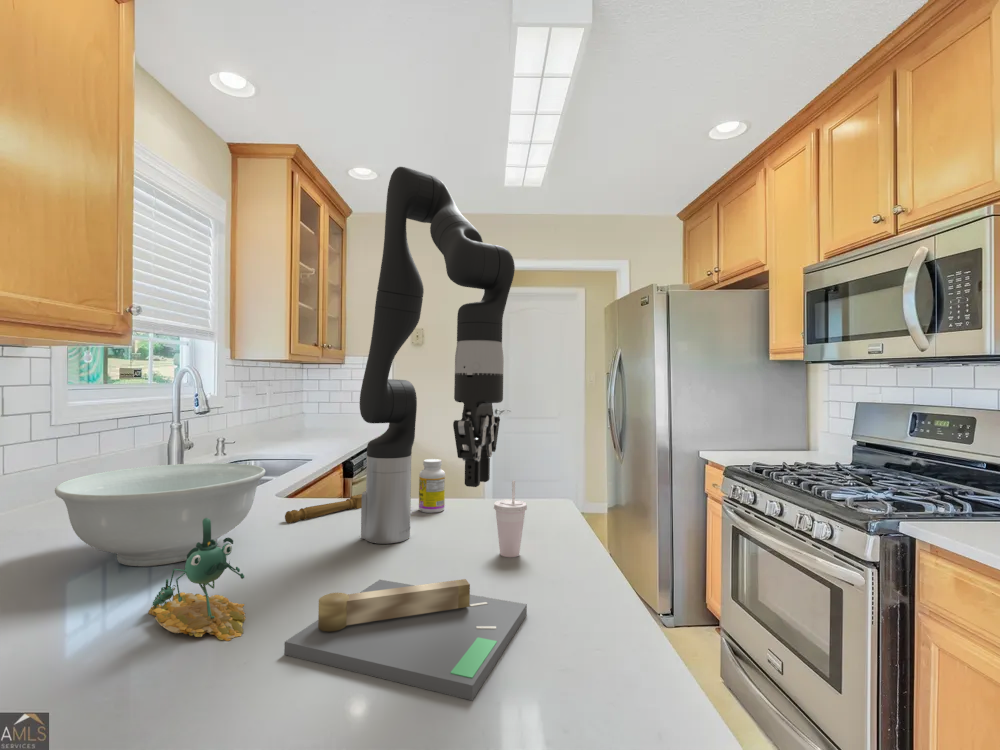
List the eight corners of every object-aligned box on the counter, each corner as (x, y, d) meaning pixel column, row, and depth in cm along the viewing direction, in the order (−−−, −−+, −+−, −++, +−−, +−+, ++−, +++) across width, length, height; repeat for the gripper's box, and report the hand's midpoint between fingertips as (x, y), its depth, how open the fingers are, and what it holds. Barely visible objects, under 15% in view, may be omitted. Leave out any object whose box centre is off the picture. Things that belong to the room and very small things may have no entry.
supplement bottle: (419, 507, 129) (420, 458, 129) (444, 506, 129) (445, 458, 130) (417, 513, 122) (418, 462, 122) (444, 513, 123) (445, 462, 123)
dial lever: (318, 633, 59) (318, 606, 59) (318, 620, 62) (318, 594, 62) (471, 609, 66) (471, 585, 66) (463, 598, 69) (464, 576, 69)
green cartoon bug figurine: (203, 592, 75) (213, 497, 74) (271, 639, 65) (283, 530, 65) (129, 615, 67) (140, 508, 66) (194, 673, 57) (207, 549, 57)
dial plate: (284, 654, 57) (284, 640, 58) (379, 589, 76) (379, 578, 76) (472, 700, 50) (472, 684, 50) (526, 614, 68) (526, 603, 69)
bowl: (42, 552, 91) (45, 473, 91) (231, 519, 114) (232, 457, 115) (63, 607, 69) (67, 503, 69) (291, 552, 92) (293, 475, 93)
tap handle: (284, 509, 113) (385, 489, 137) (283, 523, 113) (385, 499, 137) (291, 512, 111) (392, 490, 135) (291, 525, 111) (392, 501, 135)
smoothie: (523, 561, 90) (524, 484, 90) (489, 558, 91) (490, 482, 91) (528, 549, 96) (529, 478, 96) (496, 547, 97) (497, 476, 98)
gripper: (473, 373, 83) (472, 474, 83) (436, 369, 70) (434, 490, 69) (515, 373, 81) (514, 477, 80) (485, 370, 67) (483, 495, 67)
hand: (477, 483), depth 75 cm, fingers open, 3 cm apart
